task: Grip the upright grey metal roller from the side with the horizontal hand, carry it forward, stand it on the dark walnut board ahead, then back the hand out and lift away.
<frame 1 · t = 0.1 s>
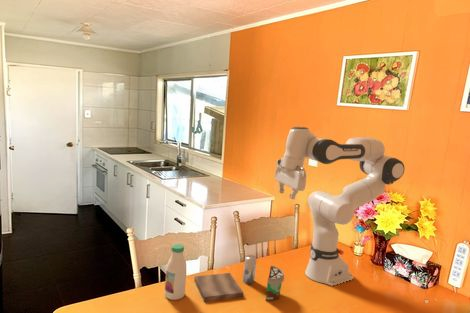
hand: (286, 195, 143), 39 cm above the table, tool pointing down, fingers open, 8 cm apart
walnut board: (217, 288, 137), on the table
milk bottle: (174, 295, 130), on the table
food container: (274, 296, 135), on the table
metal roller: (248, 281, 145), on the table
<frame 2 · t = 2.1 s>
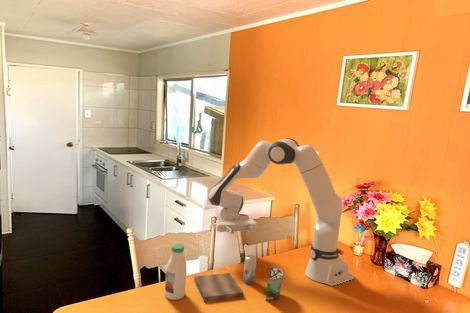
hand: (241, 231, 154), 18 cm above the table, tool horizontal, fingers open, 8 cm apart
nothing on the table moved.
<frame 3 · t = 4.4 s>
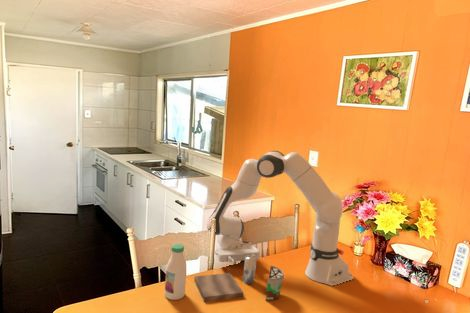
hand: (244, 261, 151), 6 cm above the table, tool horizontal, fingers open, 8 cm apart
nothing on the table moved.
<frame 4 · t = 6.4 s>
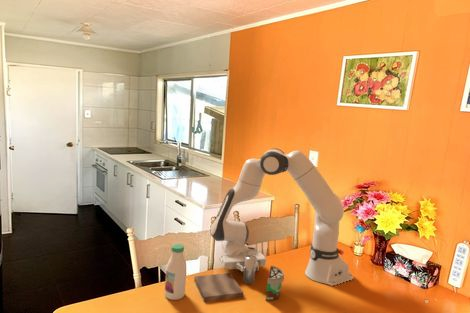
hand: (250, 269, 144), 6 cm above the table, tool horizontal, fingers closed on metal roller, 5 cm apart
metal roller: (248, 281, 145), on the table, touching gripper
everything else where it was.
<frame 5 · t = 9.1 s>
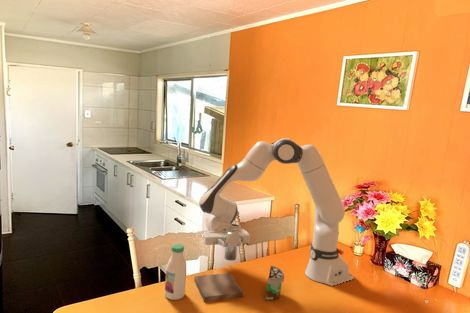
hand: (232, 244, 137), 18 cm above the table, tool horizontal, fingers closed on metal roller, 5 cm apart
metal roller: (230, 257, 138), point 12 cm above the table, touching gripper
everything else where it was.
when the fingers open (9 cm above the table, at t = 12.0 s): metal roller drops 1 cm, resting on walnut board.
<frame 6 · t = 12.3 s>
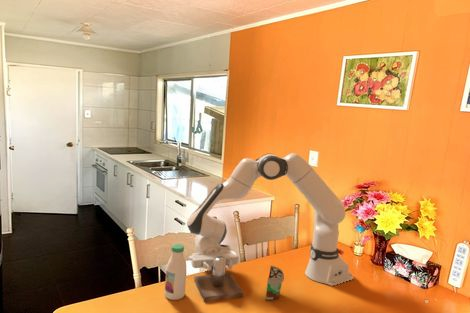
hand: (220, 267, 135), 9 cm above the table, tool horizontal, fingers open, 8 cm apart
metal roller: (218, 283, 137), point 2 cm above the table, touching walnut board
everything else where it was.
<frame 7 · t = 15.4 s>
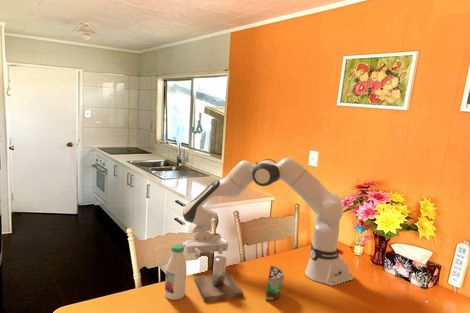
hand: (210, 253, 148), 9 cm above the table, tool horizontal, fingers open, 8 cm apart
nothing on the table moved.
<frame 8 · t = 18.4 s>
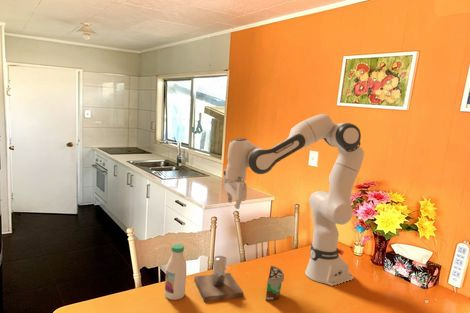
hand: (233, 205, 149), 31 cm above the table, tool pointing down, fingers open, 8 cm apart
nothing on the table moved.
at the end: metal roller inside the target area on the walnut board (0.1 cm from its centre), point 2.0 cm above the walnut board's base; metal roller tilted 1°; the gripper is holding nothing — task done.
